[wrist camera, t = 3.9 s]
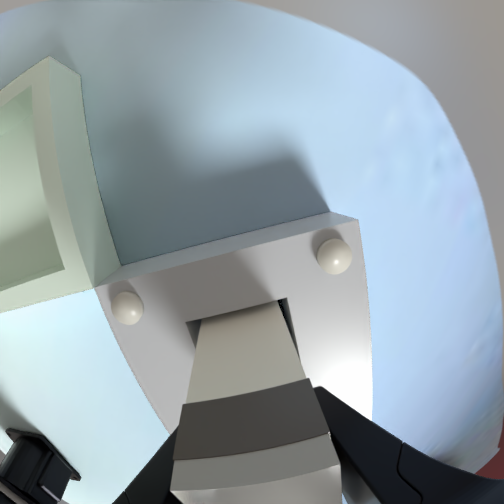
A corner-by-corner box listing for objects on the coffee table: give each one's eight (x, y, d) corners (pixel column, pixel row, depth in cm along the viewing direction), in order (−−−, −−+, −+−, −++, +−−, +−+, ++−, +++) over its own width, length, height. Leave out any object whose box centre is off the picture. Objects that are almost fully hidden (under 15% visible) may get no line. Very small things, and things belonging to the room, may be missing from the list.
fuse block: (220, 468, 16) (220, 504, 13) (121, 266, 12) (89, 291, 9) (354, 436, 16) (370, 470, 13) (330, 211, 13) (362, 221, 9)
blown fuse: (223, 372, 12) (221, 536, 4) (201, 312, 11) (167, 489, 4) (290, 356, 12) (343, 514, 4) (276, 294, 11) (341, 462, 4)
